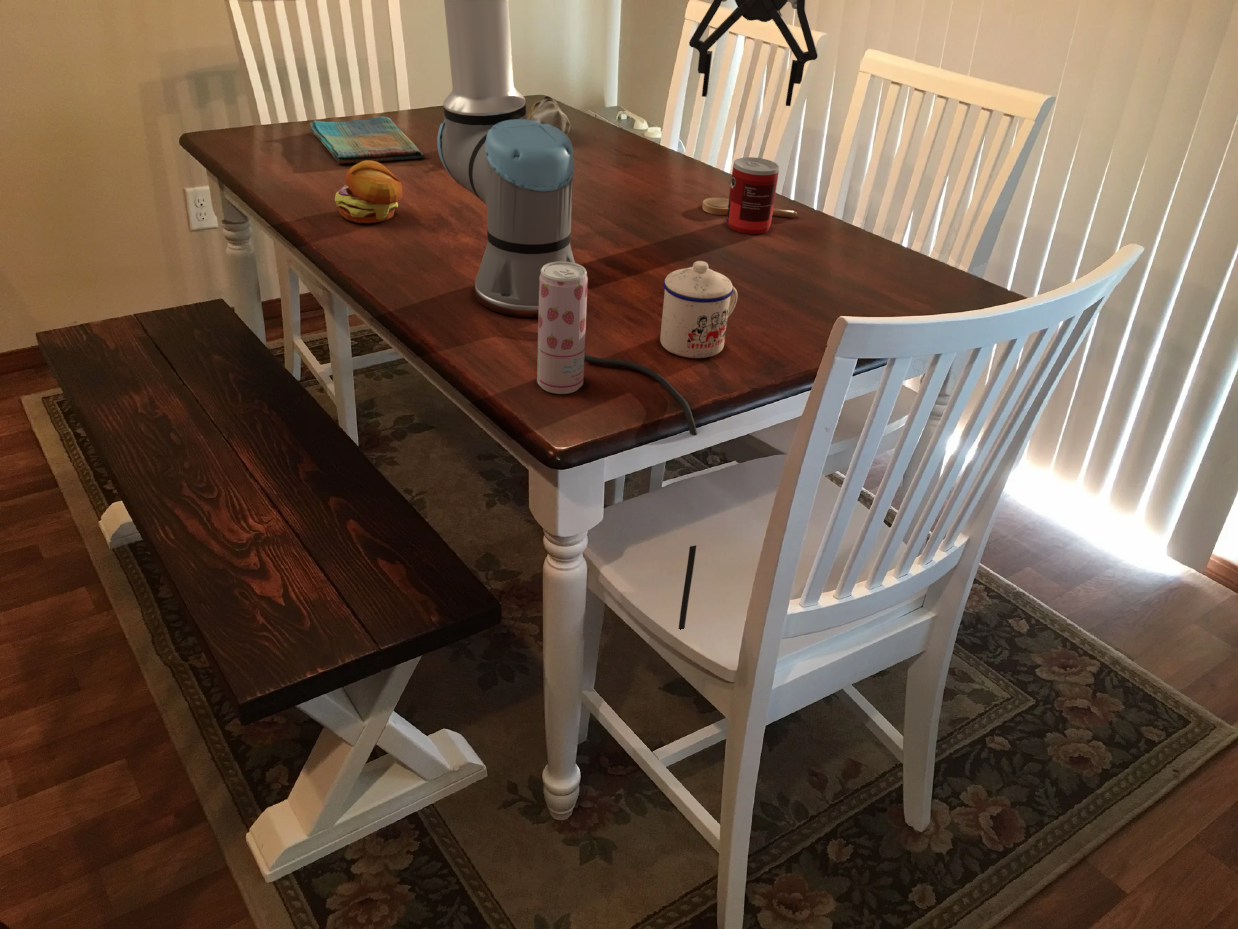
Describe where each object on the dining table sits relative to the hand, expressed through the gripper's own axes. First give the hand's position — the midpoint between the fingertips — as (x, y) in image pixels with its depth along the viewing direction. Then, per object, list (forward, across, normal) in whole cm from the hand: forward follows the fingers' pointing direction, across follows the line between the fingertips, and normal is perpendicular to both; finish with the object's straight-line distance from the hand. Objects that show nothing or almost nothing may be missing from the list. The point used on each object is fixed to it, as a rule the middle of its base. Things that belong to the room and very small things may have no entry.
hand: (746, 99), depth 161 cm
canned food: (+22, -3, -1) cm, 22 cm away
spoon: (+21, -3, -8) cm, 23 cm away
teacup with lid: (+22, +1, +46) cm, 51 cm away
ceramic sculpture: (+22, +42, -42) cm, 63 cm away
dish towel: (+22, +74, -23) cm, 81 cm away
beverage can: (+22, +17, +63) cm, 69 cm away
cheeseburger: (+22, +59, +14) cm, 65 cm away
